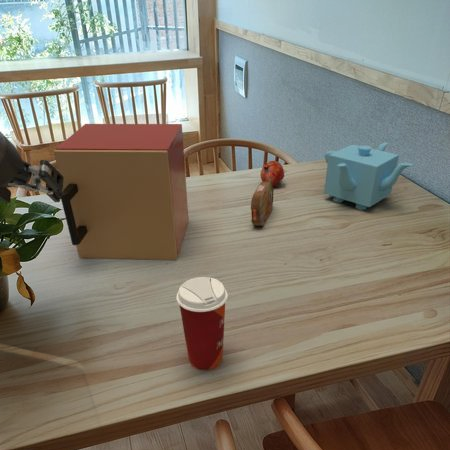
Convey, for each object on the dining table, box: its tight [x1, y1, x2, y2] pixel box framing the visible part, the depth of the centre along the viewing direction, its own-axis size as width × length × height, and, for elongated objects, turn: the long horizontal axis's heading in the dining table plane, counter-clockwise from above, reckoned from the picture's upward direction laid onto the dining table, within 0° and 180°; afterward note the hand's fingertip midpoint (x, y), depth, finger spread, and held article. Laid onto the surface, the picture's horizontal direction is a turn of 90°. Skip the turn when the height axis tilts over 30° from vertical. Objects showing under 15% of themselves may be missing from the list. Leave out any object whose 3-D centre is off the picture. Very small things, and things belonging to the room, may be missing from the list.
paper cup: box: [175, 276, 229, 371], centre depth 70 cm, size 8×8×14 cm
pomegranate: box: [259, 160, 285, 188], centre depth 133 cm, size 7×7×10 cm
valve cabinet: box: [55, 123, 190, 259], centre depth 102 cm, size 18×22×24 cm
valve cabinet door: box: [52, 149, 178, 261], centre depth 91 cm, size 7×22×24 cm, turn 86°
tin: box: [250, 181, 274, 227], centre depth 114 cm, size 15×3×8 cm, turn 163°
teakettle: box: [323, 141, 414, 211], centre depth 120 cm, size 19×19×15 cm
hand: (33, 197), depth 75 cm, fingers open, 8 cm apart
